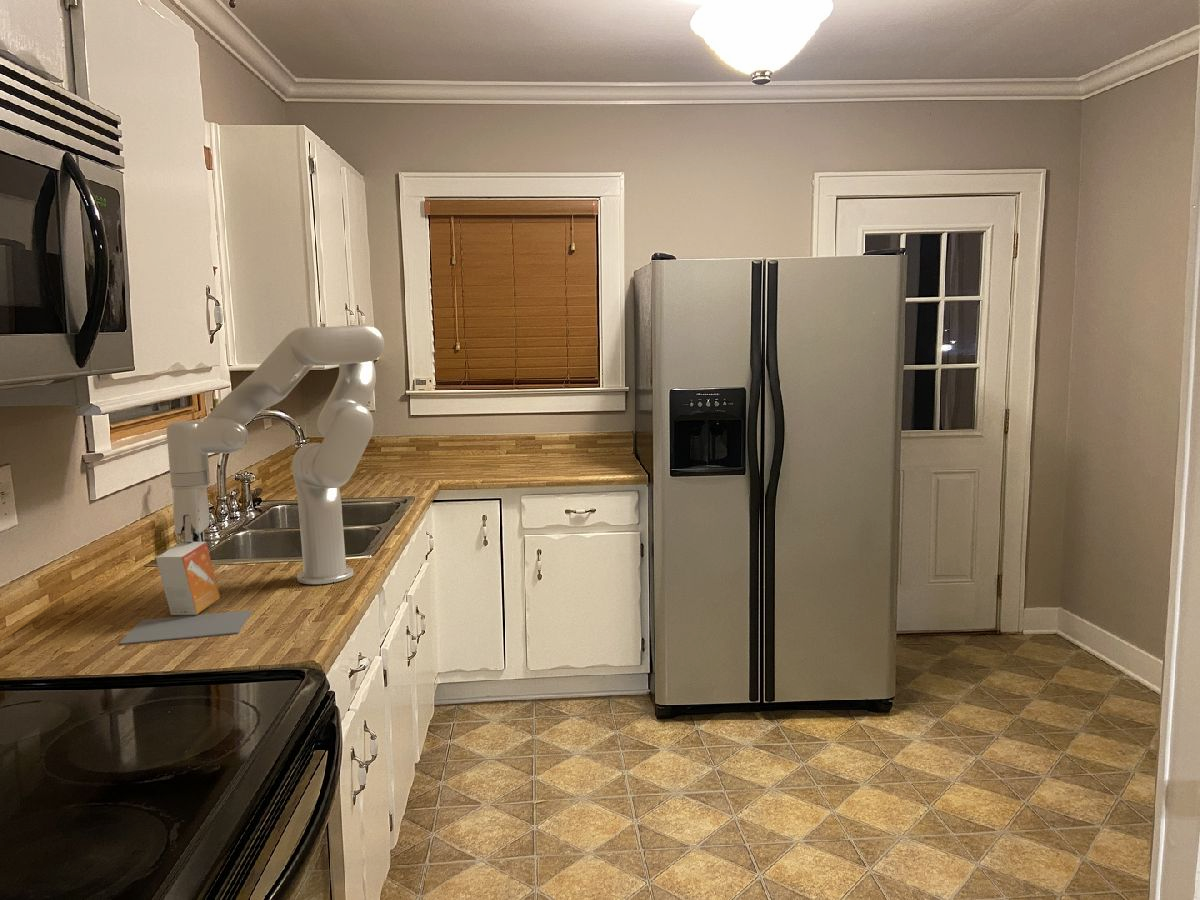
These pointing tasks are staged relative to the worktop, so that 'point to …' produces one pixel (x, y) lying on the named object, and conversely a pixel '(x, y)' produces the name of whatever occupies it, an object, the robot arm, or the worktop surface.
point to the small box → (188, 578)
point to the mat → (187, 627)
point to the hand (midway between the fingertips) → (197, 564)
